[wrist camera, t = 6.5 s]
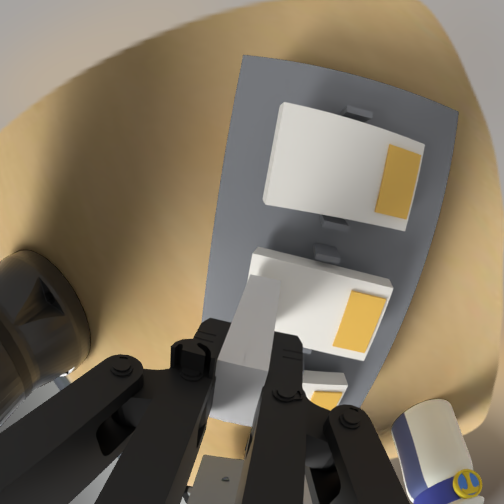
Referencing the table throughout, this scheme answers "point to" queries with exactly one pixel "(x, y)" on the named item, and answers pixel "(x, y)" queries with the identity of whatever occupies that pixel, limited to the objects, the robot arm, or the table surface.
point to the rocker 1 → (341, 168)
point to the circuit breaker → (220, 482)
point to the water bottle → (435, 456)
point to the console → (317, 225)
